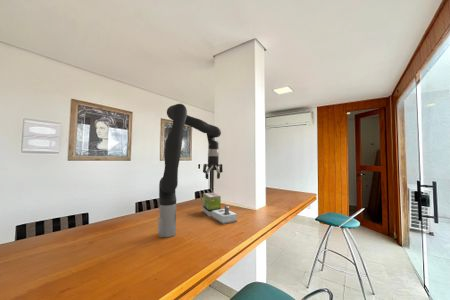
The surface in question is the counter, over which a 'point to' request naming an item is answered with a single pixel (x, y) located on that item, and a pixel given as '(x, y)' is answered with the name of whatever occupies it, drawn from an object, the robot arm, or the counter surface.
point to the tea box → (211, 203)
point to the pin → (226, 210)
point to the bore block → (224, 216)
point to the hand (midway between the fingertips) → (212, 178)
